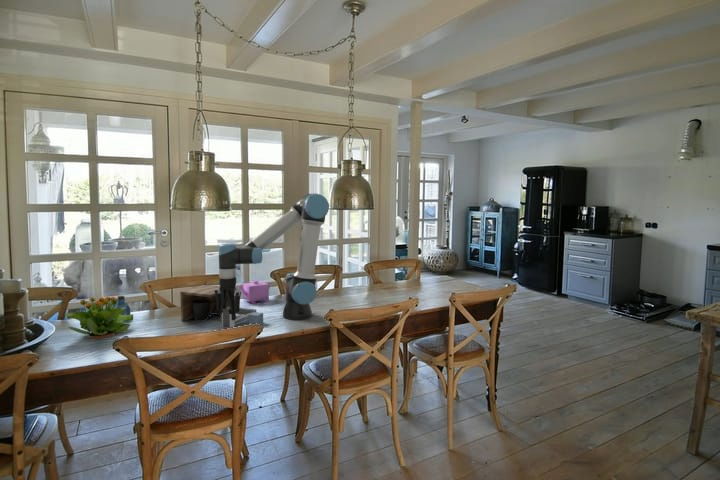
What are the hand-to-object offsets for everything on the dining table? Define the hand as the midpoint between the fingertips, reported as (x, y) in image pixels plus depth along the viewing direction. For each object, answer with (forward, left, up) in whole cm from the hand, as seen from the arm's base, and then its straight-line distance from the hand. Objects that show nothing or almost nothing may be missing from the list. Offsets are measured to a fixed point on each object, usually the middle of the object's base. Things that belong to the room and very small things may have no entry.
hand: (228, 326), depth 196 cm
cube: (-6, -13, -2) cm, 15 cm away
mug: (+22, -10, -2) cm, 24 cm away
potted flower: (+47, +28, -2) cm, 55 cm away
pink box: (+19, -49, -2) cm, 53 cm away
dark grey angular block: (+5, -10, 0) cm, 11 cm away
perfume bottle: (+60, +6, -2) cm, 60 cm away
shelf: (+22, -12, -2) cm, 25 cm away
